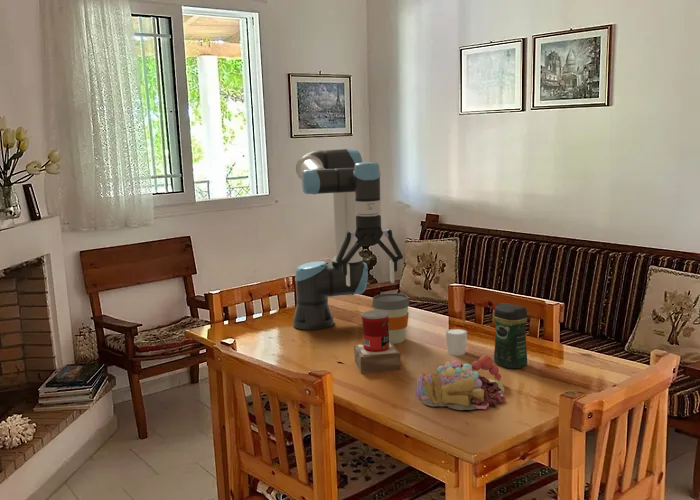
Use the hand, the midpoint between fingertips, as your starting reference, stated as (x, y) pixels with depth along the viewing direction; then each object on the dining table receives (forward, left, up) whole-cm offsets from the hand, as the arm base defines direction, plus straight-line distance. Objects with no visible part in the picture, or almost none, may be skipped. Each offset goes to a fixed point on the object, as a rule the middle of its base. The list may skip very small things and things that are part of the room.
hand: (370, 283), depth 208 cm
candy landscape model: (+31, +18, -26) cm, 44 cm away
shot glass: (-2, +28, -25) cm, 38 cm away
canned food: (+3, +1, -20) cm, 20 cm away
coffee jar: (+13, +40, -25) cm, 49 cm away
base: (+3, +1, -25) cm, 25 cm away
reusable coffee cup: (-21, +11, -25) cm, 35 cm away
